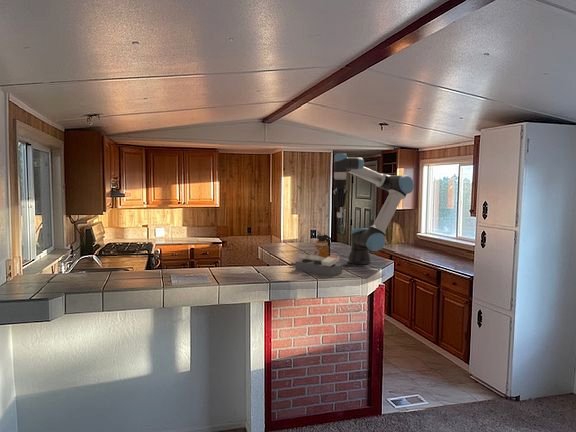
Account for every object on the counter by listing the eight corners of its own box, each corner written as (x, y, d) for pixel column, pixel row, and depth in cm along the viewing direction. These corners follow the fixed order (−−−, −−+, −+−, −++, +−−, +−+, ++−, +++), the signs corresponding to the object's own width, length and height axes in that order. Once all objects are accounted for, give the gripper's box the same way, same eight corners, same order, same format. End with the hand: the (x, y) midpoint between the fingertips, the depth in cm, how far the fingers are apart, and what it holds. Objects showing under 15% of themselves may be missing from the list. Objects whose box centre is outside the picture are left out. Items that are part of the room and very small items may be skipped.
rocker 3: (331, 258, 270) (330, 254, 269) (339, 260, 266) (339, 255, 265) (321, 265, 263) (321, 260, 262) (330, 266, 259) (329, 262, 258)
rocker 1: (307, 259, 281) (308, 254, 282) (315, 260, 277) (315, 255, 278) (297, 257, 274) (298, 252, 274) (305, 258, 270) (306, 254, 270)
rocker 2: (318, 261, 275) (319, 256, 276) (326, 262, 271) (327, 258, 272) (309, 258, 268) (310, 254, 268) (317, 260, 264) (318, 255, 264)
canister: (312, 264, 291) (312, 234, 289) (326, 263, 296) (327, 233, 294) (318, 267, 283) (319, 235, 281) (333, 265, 288) (334, 235, 286)
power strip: (296, 265, 289) (296, 255, 288) (341, 273, 266) (342, 263, 265) (285, 267, 280) (285, 258, 280) (331, 276, 258) (331, 266, 257)
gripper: (340, 179, 279) (340, 216, 281) (328, 179, 269) (328, 217, 271) (351, 179, 274) (350, 217, 276) (339, 179, 264) (338, 218, 266)
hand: (339, 217), depth 273 cm, fingers closed
